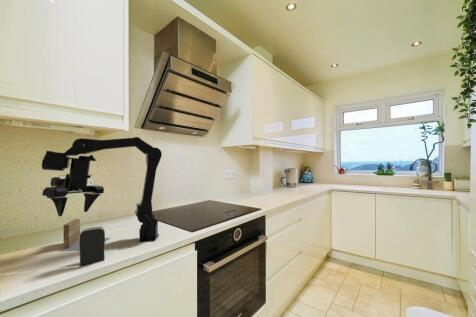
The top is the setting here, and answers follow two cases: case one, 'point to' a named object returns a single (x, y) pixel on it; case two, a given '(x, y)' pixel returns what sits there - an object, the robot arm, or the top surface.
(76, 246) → the mat
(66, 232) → the board
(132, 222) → the top surface
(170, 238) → the top surface
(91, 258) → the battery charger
